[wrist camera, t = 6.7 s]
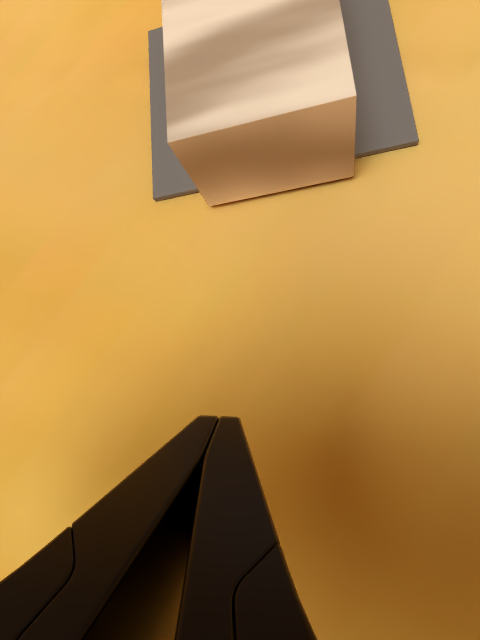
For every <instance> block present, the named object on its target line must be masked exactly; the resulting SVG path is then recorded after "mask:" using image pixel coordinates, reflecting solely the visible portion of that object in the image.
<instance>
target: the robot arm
mask: <svg viewBox="0 0 480 640" xmlns="http://www.w3.org/2000/svg"><path fill="white" fill-rule="evenodd" d="M0 640H317V638H316V636H315V634H314V631H313V629H312V627H311V624H310V622H309V620H308V618H307V615H306V613H305V611H304V608H303V606H302V604H301V601H300V599H299V597H298V594H297V591H296V588H295V585H294V583H293V580H292V577H291V574H290V572H289V569H288V566H287V563H286V560H285V557H284V554H283V551H282V548H281V546H280V542H279V539H278V536H277V533H276V529H275V526H274V523H273V520H272V517H271V514H270V511H269V508H268V505H267V501H266V498H265V495H264V492H263V489H262V486H261V483H260V480H259V476H258V473H257V470H256V467H255V464H254V461H253V458H252V455H251V452H250V448H249V445H248V442H247V439H246V436H245V433H244V430H243V427H242V423H241V420H240V419H239V418H238V417H227V416H222V417H220V418H218V417H217V416H205V415H201V416H198V417H197V418H196V419H194V420H193V421H192V422H191V423H190V424H189V425H187V426H186V427H185V428H184V429H183V430H182V431H180V432H179V433H178V434H177V435H176V436H174V437H173V438H172V439H171V440H170V441H169V442H167V443H166V444H165V445H164V446H163V447H162V448H160V449H159V450H158V451H157V452H156V453H155V454H153V455H152V456H151V457H150V458H149V459H147V460H146V461H145V462H144V463H143V464H142V465H140V466H139V467H138V468H137V469H136V470H135V471H133V472H132V473H131V474H130V475H129V476H127V477H126V478H125V479H124V480H123V481H122V482H120V483H119V484H118V485H117V486H116V487H115V488H113V489H112V490H111V491H110V492H109V493H108V494H106V495H105V496H104V497H103V498H102V499H100V500H99V501H98V502H97V503H96V504H95V505H93V506H92V507H91V508H90V509H89V510H88V511H86V512H85V513H84V514H83V515H82V516H80V517H79V518H78V519H77V520H76V521H75V522H73V524H72V528H71V527H67V528H66V529H65V530H64V531H63V532H61V533H60V534H59V535H58V536H57V537H56V538H54V539H53V540H52V541H51V542H50V543H48V544H47V545H46V546H45V547H44V548H42V549H41V550H40V551H39V552H37V553H36V554H35V555H34V556H33V557H31V558H30V559H29V560H28V561H26V562H25V563H24V564H23V565H21V566H20V567H19V568H18V569H16V570H15V571H14V572H12V573H11V574H10V575H8V576H7V577H6V578H4V579H3V580H2V581H0Z"/></svg>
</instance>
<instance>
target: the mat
mask: <svg viewBox="0 0 480 640" xmlns="http://www.w3.org/2000/svg"><path fill="white" fill-rule="evenodd" d="M339 1H340V7H341V12H342V18H343V23H344V29H345V34H346V40H347V45H348V51H349V56H350V62H351V67H352V73H353V78H354V84H355V89H356V95H357V99H356V128H355V158H359V157H363V156H368V155H372V154H377V153H382V152H386V151H391V150H396V149H400V148H405V147H409V146H414V145H418V142H419V139H418V135H417V130H416V125H415V121H414V116H413V112H412V107H411V103H410V98H409V93H408V89H407V84H406V80H405V75H404V70H403V66H402V61H401V57H400V52H399V48H398V43H397V38H396V34H395V29H394V25H393V20H392V15H391V11H390V6H389V2H388V0H339ZM148 36H149V71H150V106H151V141H152V176H153V199H154V200H155V201H160V200H164V199H169V198H173V197H178V196H183V195H187V194H192V193H197V192H199V190H198V189H197V187H196V186H195V184H194V182H193V181H192V179H191V178H190V176H189V175H188V173H187V172H186V170H185V169H184V167H183V166H182V164H181V163H180V161H179V160H178V158H177V157H176V155H175V153H174V152H173V150H172V149H171V147H170V146H169V144H168V143H167V119H166V95H165V71H164V46H163V27H160V28H157V29H154V30H151V31H148Z"/></svg>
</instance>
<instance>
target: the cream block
mask: <svg viewBox="0 0 480 640" xmlns="http://www.w3.org/2000/svg"><path fill="white" fill-rule="evenodd" d="M162 22H163V46H164V71H165V95H166V119H167V143H168V144H169V146H170V147H171V149H172V150H173V152H174V153H175V155H176V157H177V158H178V160H179V161H180V163H181V164H182V166H183V167H184V169H185V170H186V172H187V173H188V175H189V176H190V178H191V179H192V181H193V182H194V184H195V186H196V187H197V189H198V190H199V192H200V193H201V195H202V196H203V198H204V199H205V201H206V202H207V204H208V205H209V206H214V205H219V204H223V203H228V202H233V201H238V200H243V199H247V198H252V197H257V196H262V195H267V194H271V193H276V192H281V191H286V190H291V189H295V188H300V187H305V186H310V185H315V184H319V183H324V182H329V181H334V180H339V179H344V178H348V177H353V176H354V158H355V128H356V99H357V95H356V89H355V84H354V78H353V73H352V67H351V62H350V56H349V51H348V45H347V40H346V34H345V29H344V23H343V18H342V12H341V7H340V1H339V0H162Z"/></svg>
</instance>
